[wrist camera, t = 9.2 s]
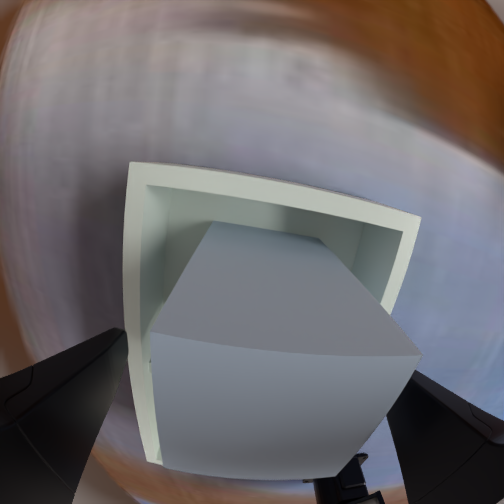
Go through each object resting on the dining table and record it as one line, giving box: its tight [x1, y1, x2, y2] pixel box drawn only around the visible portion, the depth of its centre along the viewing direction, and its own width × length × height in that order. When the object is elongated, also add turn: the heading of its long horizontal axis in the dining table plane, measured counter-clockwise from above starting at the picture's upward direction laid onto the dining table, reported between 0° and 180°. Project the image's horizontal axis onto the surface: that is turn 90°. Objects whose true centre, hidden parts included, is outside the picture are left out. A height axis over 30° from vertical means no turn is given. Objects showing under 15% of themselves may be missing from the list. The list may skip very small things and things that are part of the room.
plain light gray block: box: [150, 221, 423, 480], centre depth 10 cm, size 6×6×10 cm
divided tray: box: [123, 162, 421, 465], centre depth 15 cm, size 21×12×5 cm, turn 170°
